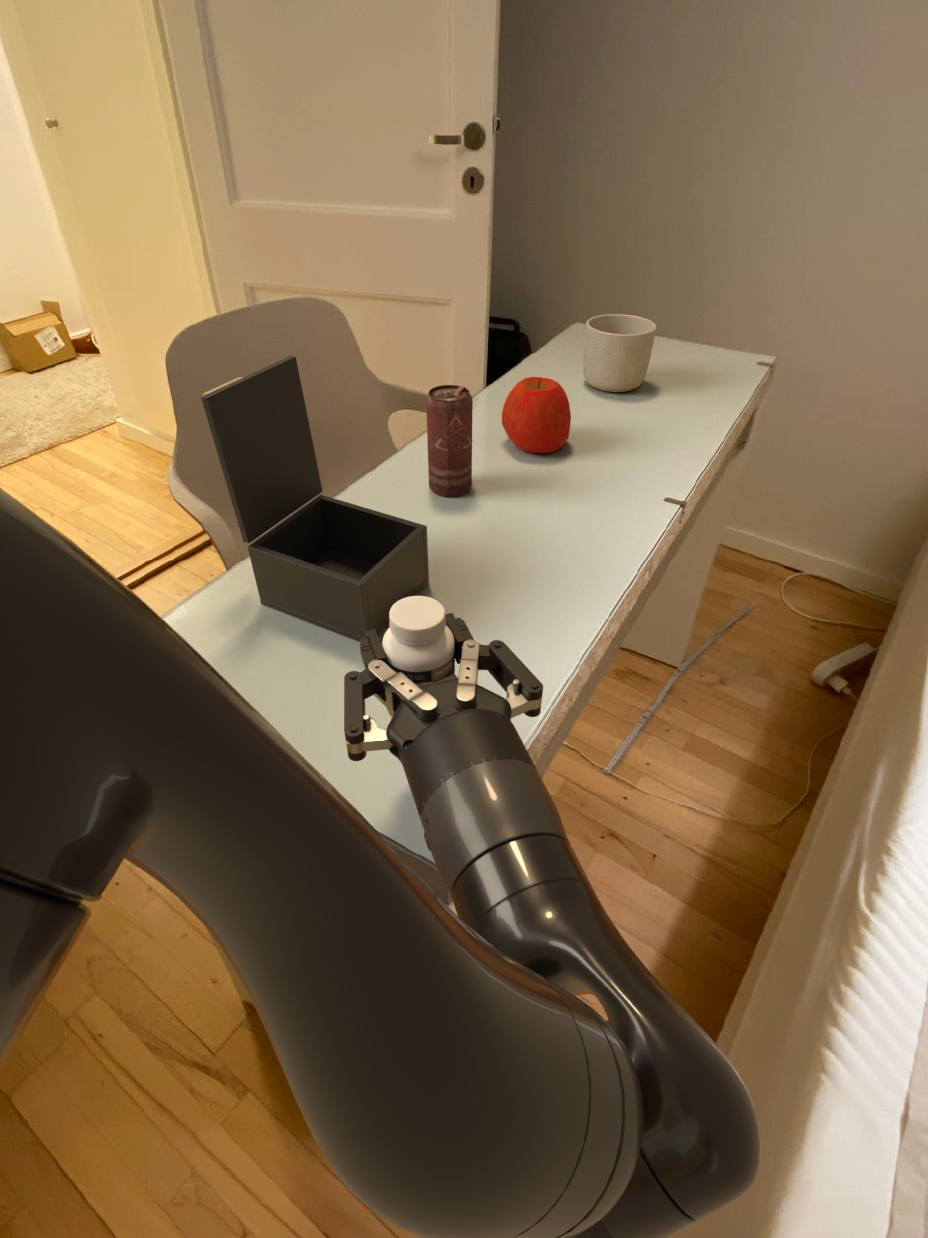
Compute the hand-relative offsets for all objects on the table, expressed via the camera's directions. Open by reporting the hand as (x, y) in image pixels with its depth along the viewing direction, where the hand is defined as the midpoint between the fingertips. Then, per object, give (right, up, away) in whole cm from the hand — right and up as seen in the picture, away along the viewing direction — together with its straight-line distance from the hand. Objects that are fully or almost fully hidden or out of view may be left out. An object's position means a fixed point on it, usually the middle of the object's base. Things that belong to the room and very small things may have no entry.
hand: (409, 630), depth 52 cm
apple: (+16, +29, +56) cm, 65 cm away
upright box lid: (-16, +18, +19) cm, 31 cm away
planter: (+32, +45, +76) cm, 94 cm away
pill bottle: (+1, -6, +2) cm, 7 cm away
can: (+2, +20, +46) cm, 50 cm away
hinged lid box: (-9, +4, +26) cm, 28 cm away
